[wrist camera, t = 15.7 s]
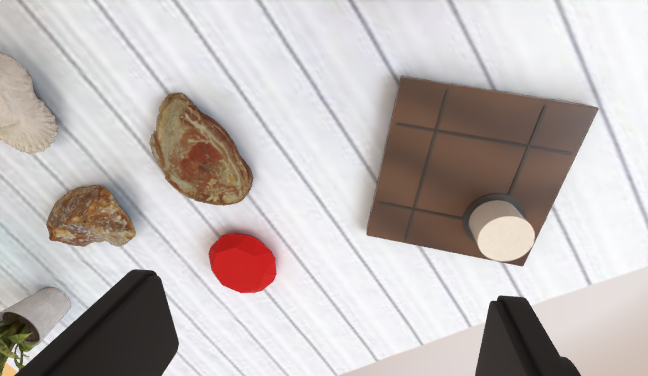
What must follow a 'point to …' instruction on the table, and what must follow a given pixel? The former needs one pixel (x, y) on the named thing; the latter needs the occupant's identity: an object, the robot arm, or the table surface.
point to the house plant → (30, 322)
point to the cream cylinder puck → (501, 231)
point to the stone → (198, 154)
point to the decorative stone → (89, 218)
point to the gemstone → (242, 263)
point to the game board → (470, 161)
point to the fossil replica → (23, 110)
